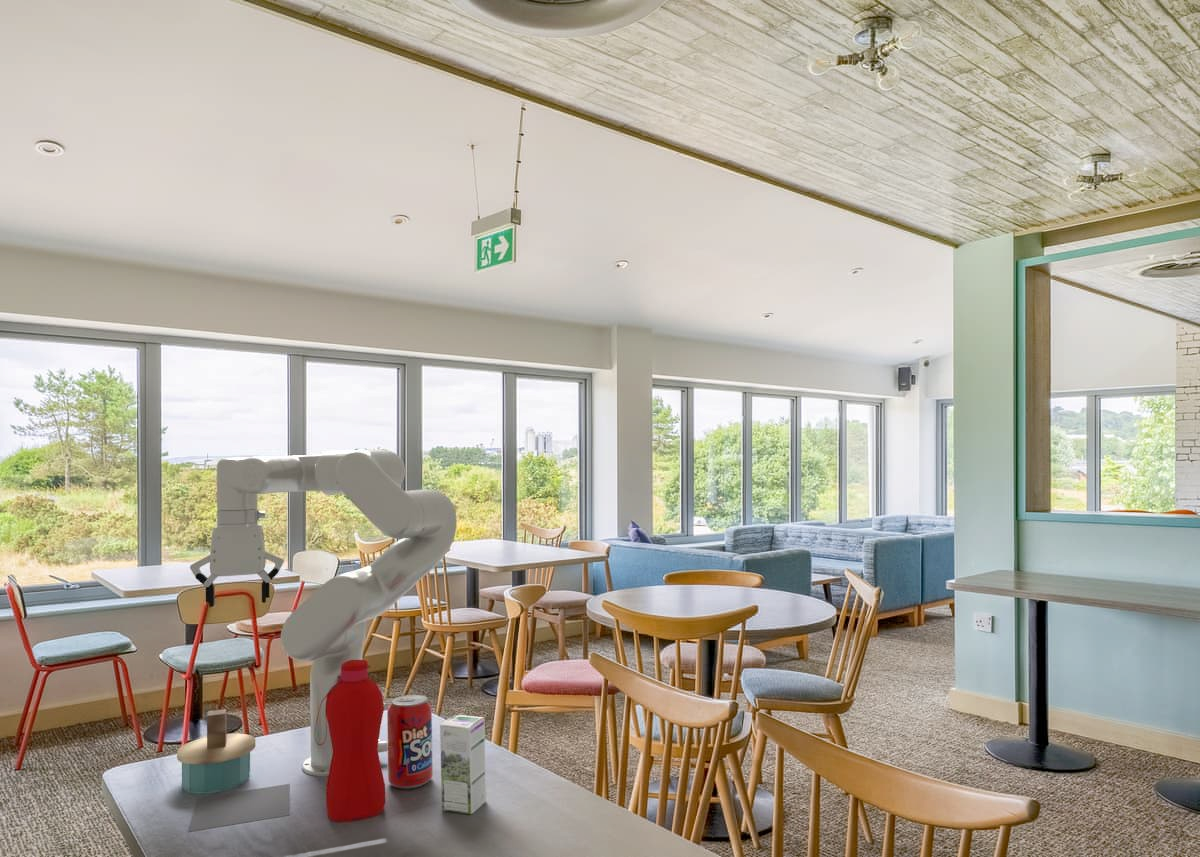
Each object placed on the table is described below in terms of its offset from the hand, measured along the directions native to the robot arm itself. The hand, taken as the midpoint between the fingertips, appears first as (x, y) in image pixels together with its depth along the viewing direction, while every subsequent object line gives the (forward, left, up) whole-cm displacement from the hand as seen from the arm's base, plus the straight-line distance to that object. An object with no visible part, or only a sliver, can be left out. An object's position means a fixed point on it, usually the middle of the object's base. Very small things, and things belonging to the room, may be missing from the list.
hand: (238, 603), depth 165 cm
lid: (+3, +14, -24) cm, 28 cm away
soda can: (-30, +28, -31) cm, 51 cm away
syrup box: (-37, +42, -31) cm, 64 cm away
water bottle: (-19, +37, -31) cm, 52 cm away
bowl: (+3, +14, -30) cm, 34 cm away
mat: (-2, +28, -30) cm, 41 cm away
